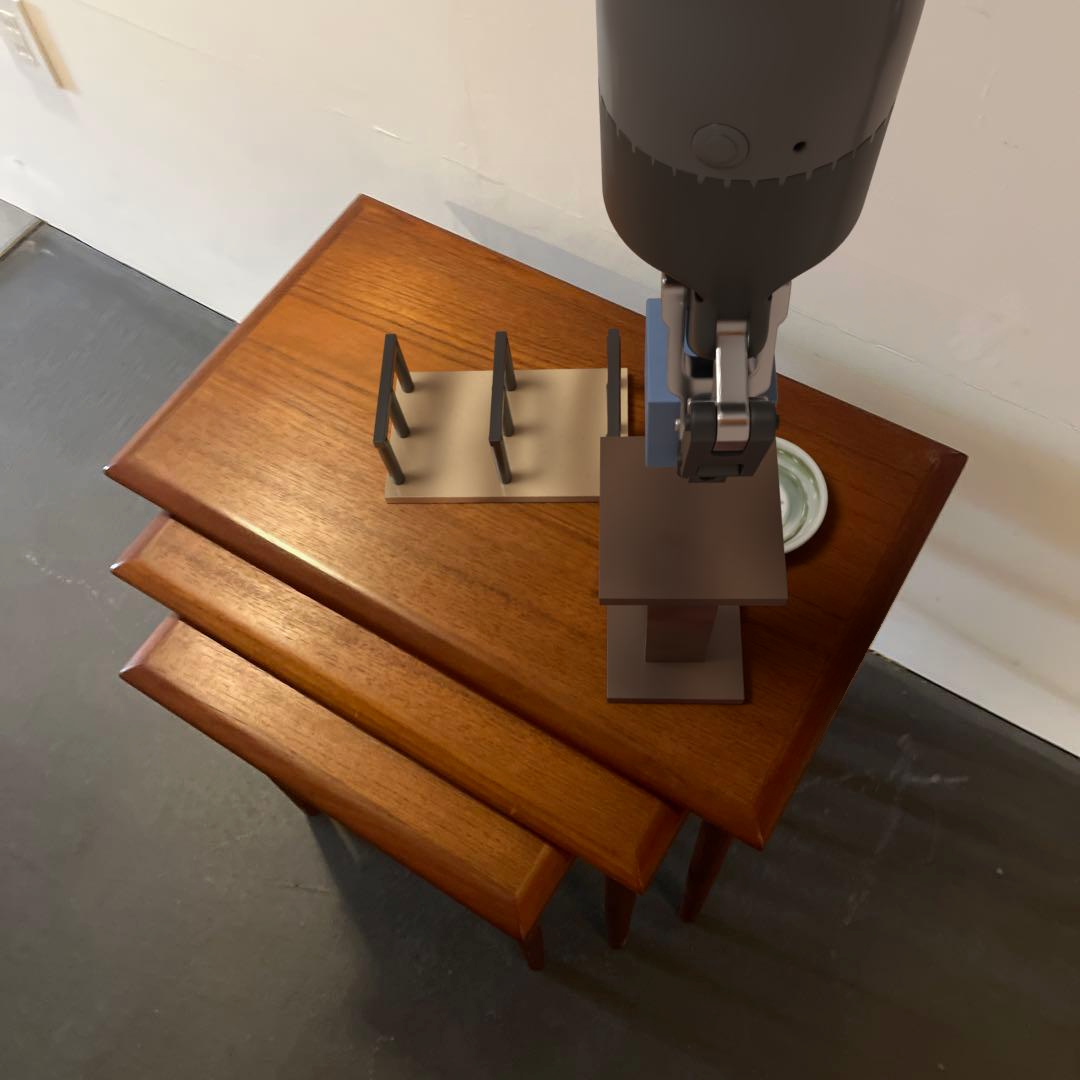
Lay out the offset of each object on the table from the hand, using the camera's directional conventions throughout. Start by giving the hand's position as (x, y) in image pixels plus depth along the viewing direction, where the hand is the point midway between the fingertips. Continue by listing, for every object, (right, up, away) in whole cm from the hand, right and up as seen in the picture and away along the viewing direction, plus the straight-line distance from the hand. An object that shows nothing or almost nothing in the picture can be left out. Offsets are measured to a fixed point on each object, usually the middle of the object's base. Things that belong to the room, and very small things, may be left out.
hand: (702, 412), depth 40 cm
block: (0, 0, 0) cm, 0 cm away
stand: (+2, -12, +27) cm, 30 cm away
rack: (-9, +3, +34) cm, 36 cm away
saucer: (+9, -3, +31) cm, 32 cm away
